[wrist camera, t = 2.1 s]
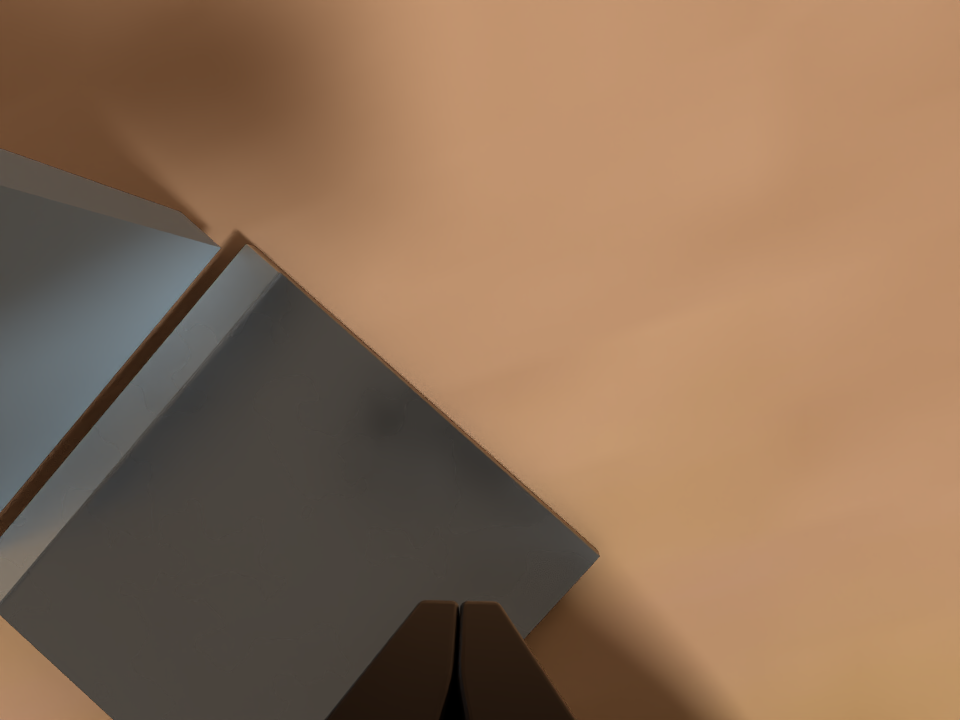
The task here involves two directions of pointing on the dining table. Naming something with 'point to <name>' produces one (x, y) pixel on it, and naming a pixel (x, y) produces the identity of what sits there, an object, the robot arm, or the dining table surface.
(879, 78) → the dining table surface
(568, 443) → the dining table surface
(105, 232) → the grey rectangular slab
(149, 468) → the plate
